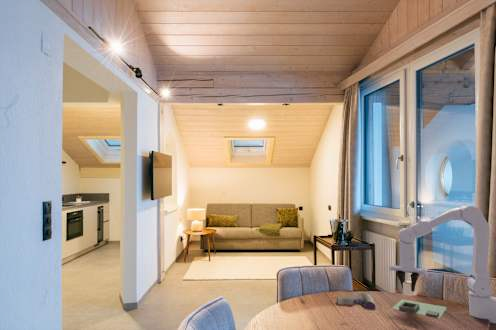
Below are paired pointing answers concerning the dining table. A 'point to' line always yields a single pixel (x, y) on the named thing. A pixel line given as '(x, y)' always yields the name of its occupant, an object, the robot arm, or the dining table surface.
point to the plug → (407, 288)
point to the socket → (403, 308)
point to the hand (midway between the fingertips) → (408, 290)
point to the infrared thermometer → (357, 300)
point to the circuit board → (424, 308)
